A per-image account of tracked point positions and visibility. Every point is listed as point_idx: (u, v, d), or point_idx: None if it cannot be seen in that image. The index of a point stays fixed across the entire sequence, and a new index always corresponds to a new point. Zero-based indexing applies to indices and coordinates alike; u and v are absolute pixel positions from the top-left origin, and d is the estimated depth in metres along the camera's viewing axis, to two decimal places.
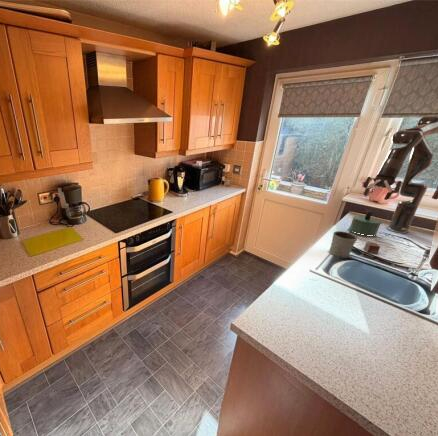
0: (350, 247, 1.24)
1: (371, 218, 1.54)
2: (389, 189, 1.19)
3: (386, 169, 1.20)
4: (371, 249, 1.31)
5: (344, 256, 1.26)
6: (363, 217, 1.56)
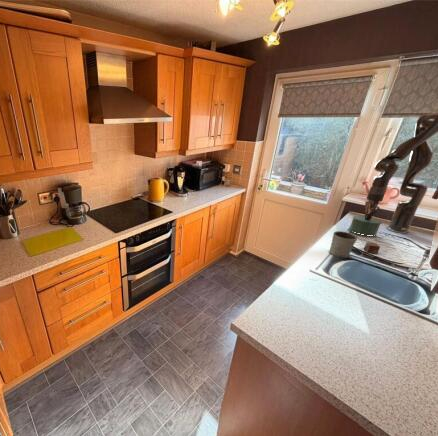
0: (350, 247, 1.24)
1: (371, 218, 1.54)
2: None
3: (368, 194, 1.48)
4: (371, 249, 1.31)
5: (344, 256, 1.26)
6: (363, 217, 1.56)
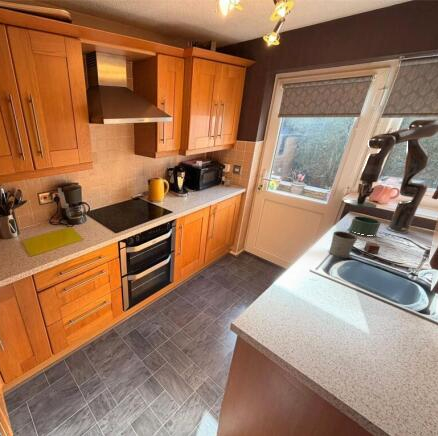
0: (350, 247, 1.24)
1: (365, 202, 1.37)
2: (361, 193, 1.33)
3: (362, 174, 1.32)
4: (371, 249, 1.31)
5: (344, 256, 1.26)
6: (356, 201, 1.39)
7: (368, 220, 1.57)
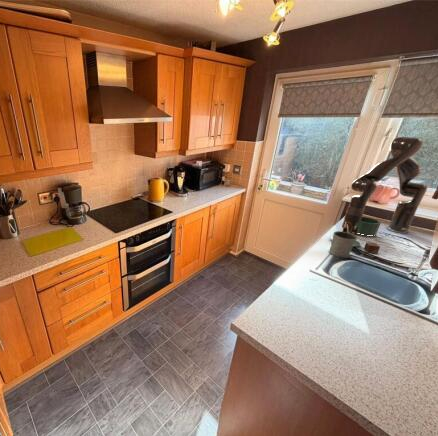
0: (350, 247, 1.24)
1: None
2: (348, 232, 1.37)
3: (346, 214, 1.38)
4: (371, 249, 1.31)
5: (344, 256, 1.26)
6: None
7: (368, 220, 1.57)
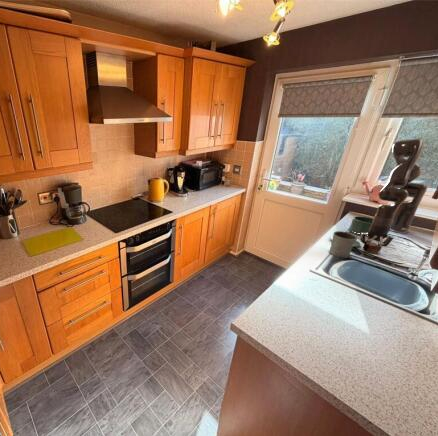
0: (350, 247, 1.24)
1: None
2: (380, 244, 1.29)
3: (383, 228, 1.24)
4: (371, 249, 1.31)
5: (344, 256, 1.26)
6: None
7: (368, 220, 1.57)
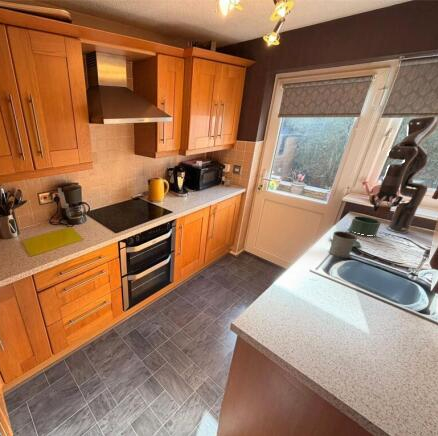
0: (350, 247, 1.24)
1: None
2: (389, 204, 1.30)
3: (393, 187, 1.26)
4: (380, 210, 1.32)
5: (344, 256, 1.26)
6: None
7: (368, 220, 1.57)
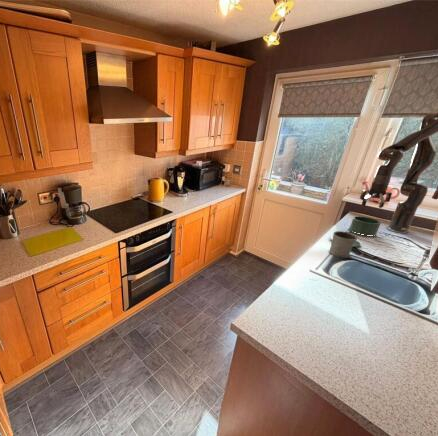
0: (350, 247, 1.24)
1: None
2: (383, 200, 1.45)
3: (382, 185, 1.41)
4: None
5: (344, 256, 1.26)
6: None
7: (368, 220, 1.57)
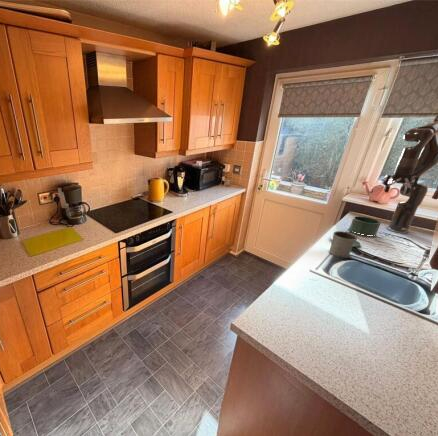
0: (350, 247, 1.24)
1: None
2: (409, 185, 1.34)
3: (408, 169, 1.30)
4: None
5: (344, 256, 1.26)
6: None
7: (368, 220, 1.57)
